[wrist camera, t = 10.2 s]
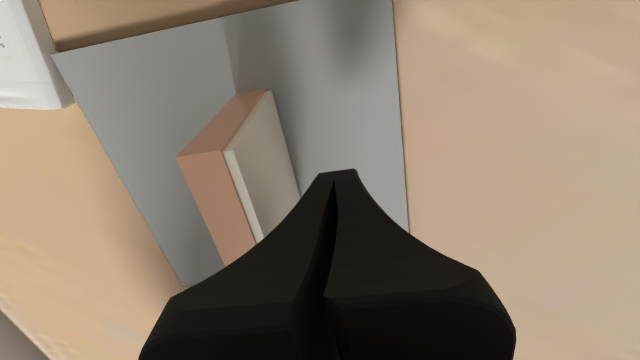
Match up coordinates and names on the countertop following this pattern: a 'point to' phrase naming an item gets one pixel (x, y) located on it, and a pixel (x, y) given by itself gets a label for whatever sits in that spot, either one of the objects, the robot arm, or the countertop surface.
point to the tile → (241, 173)
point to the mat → (237, 77)
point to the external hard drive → (28, 60)
